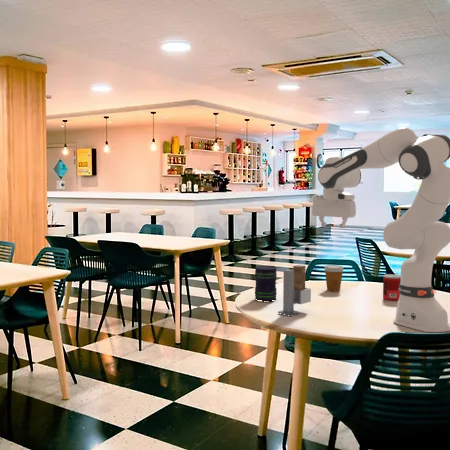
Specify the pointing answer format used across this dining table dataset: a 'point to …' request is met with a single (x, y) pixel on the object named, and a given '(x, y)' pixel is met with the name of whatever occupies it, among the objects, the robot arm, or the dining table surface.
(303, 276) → the rail
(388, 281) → the canned food
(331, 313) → the dining table surface
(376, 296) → the dining table surface
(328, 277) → the disposable coffee cup
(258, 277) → the rusty blue barrel
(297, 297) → the bracket
